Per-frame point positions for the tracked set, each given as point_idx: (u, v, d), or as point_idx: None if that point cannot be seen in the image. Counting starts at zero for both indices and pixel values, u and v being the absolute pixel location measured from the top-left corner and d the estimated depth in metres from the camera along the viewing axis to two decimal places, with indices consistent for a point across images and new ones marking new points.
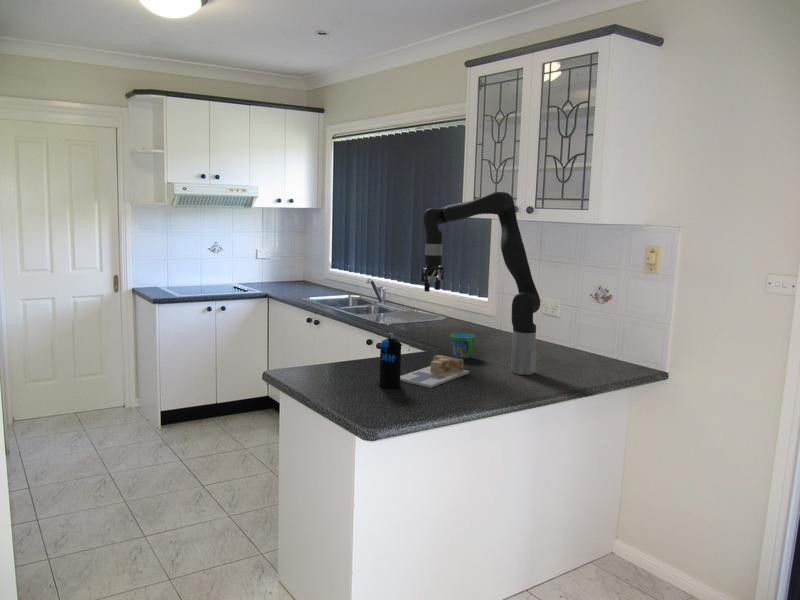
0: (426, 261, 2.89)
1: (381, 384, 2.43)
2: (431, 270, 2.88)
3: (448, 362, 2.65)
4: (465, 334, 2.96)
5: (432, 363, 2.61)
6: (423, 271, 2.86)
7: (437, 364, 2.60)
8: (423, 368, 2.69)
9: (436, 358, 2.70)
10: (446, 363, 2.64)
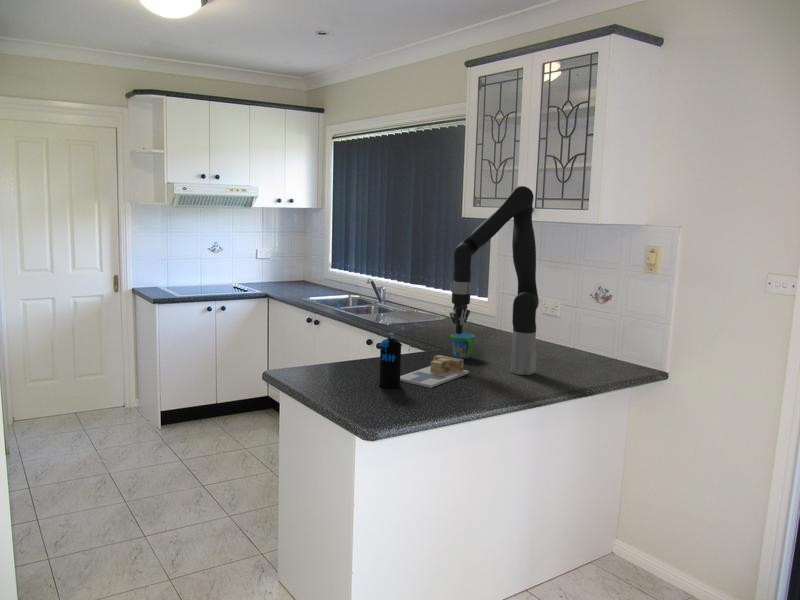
0: (453, 300, 2.70)
1: (381, 384, 2.43)
2: (459, 310, 2.69)
3: (448, 362, 2.65)
4: (465, 334, 2.96)
5: (432, 363, 2.61)
6: (452, 316, 2.69)
7: (437, 364, 2.60)
8: (423, 368, 2.69)
9: (436, 358, 2.70)
10: (446, 363, 2.64)
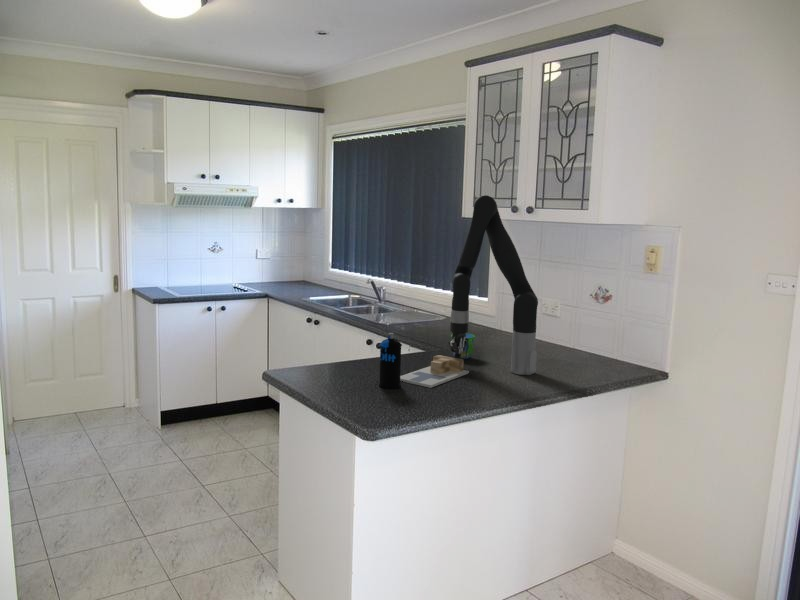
0: (452, 329, 2.71)
1: (381, 384, 2.43)
2: (457, 338, 2.71)
3: (448, 362, 2.65)
4: None
5: (432, 363, 2.61)
6: (450, 345, 2.70)
7: (437, 364, 2.60)
8: (423, 368, 2.69)
9: (436, 358, 2.70)
10: (446, 363, 2.64)
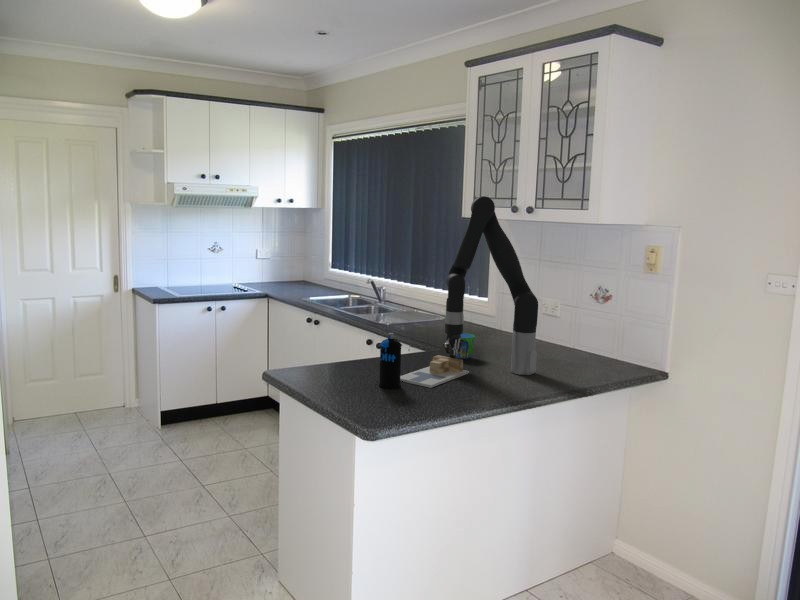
0: (446, 330, 2.68)
1: (381, 384, 2.43)
2: (452, 340, 2.68)
3: (447, 362, 2.65)
4: (465, 334, 2.96)
5: (431, 363, 2.61)
6: (445, 347, 2.67)
7: (436, 364, 2.60)
8: (423, 368, 2.69)
9: (435, 358, 2.69)
10: (445, 363, 2.64)
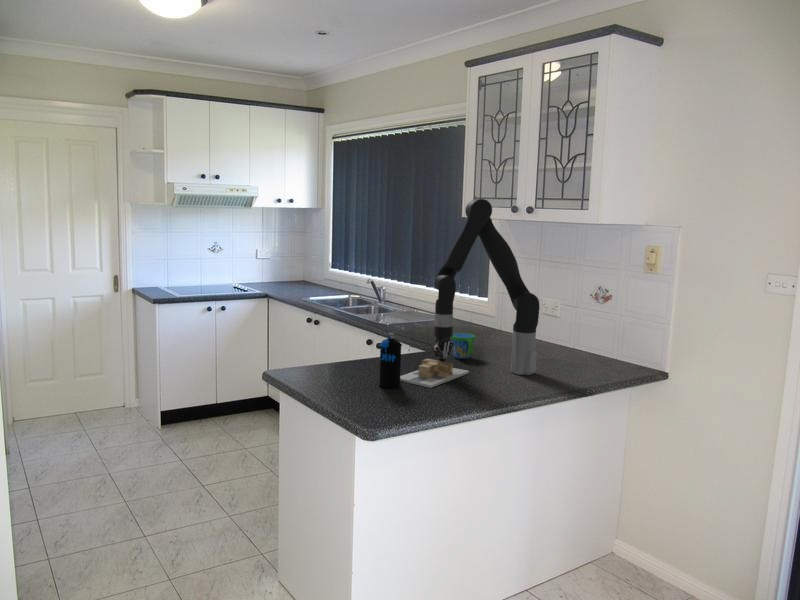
0: (435, 333, 2.62)
1: (381, 384, 2.43)
2: (441, 343, 2.61)
3: (437, 366, 2.58)
4: (465, 334, 2.96)
5: (420, 367, 2.55)
6: (434, 350, 2.61)
7: (425, 368, 2.53)
8: None
9: (425, 362, 2.63)
10: (435, 367, 2.57)
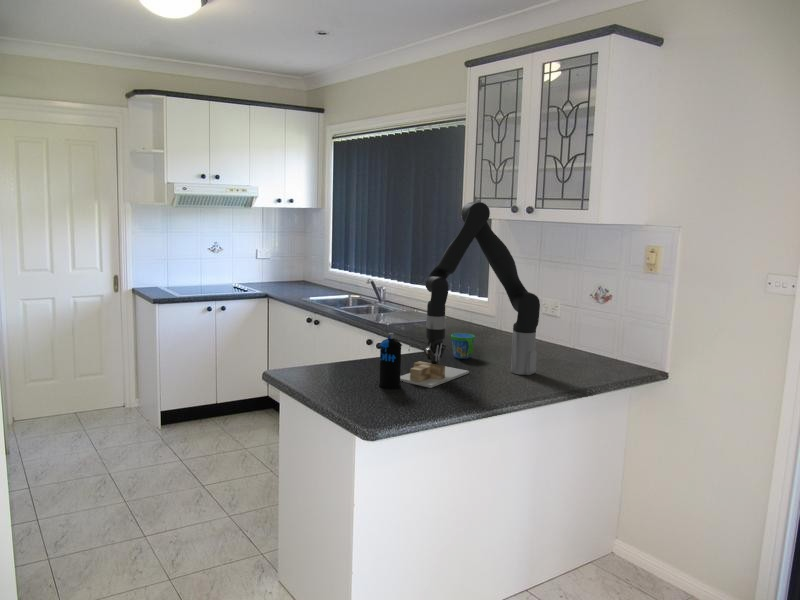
0: (427, 335, 2.57)
1: (381, 384, 2.43)
2: (433, 345, 2.57)
3: (429, 369, 2.54)
4: (465, 334, 2.96)
5: (412, 370, 2.50)
6: (426, 352, 2.56)
7: (417, 371, 2.49)
8: None
9: (417, 364, 2.58)
10: (427, 370, 2.52)
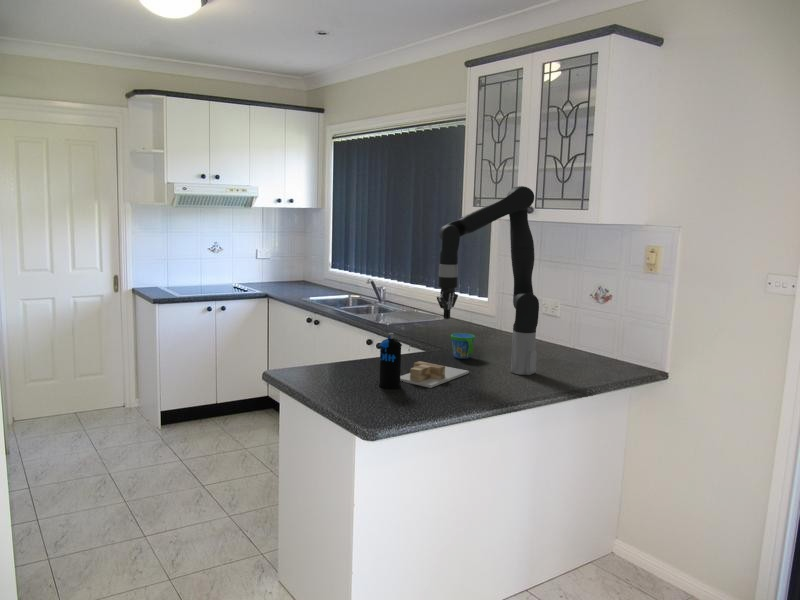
0: (440, 283, 2.60)
1: (381, 384, 2.43)
2: (446, 293, 2.60)
3: (429, 369, 2.54)
4: (465, 334, 2.96)
5: (412, 370, 2.50)
6: (439, 300, 2.59)
7: (417, 371, 2.49)
8: None
9: (417, 364, 2.58)
10: (427, 370, 2.52)
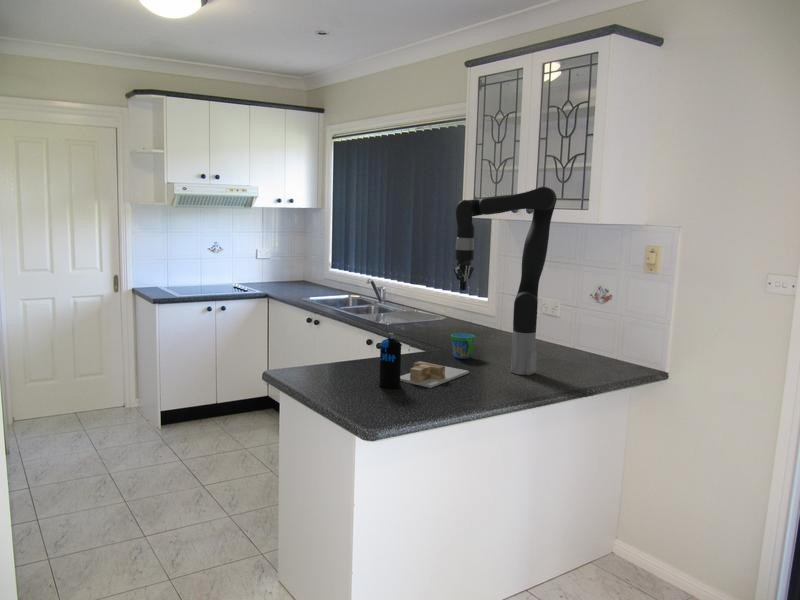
0: (457, 256, 2.72)
1: (381, 384, 2.43)
2: (462, 266, 2.72)
3: (429, 369, 2.54)
4: (465, 334, 2.96)
5: (412, 370, 2.50)
6: (456, 272, 2.71)
7: (417, 371, 2.49)
8: None
9: (417, 364, 2.58)
10: (427, 370, 2.52)
